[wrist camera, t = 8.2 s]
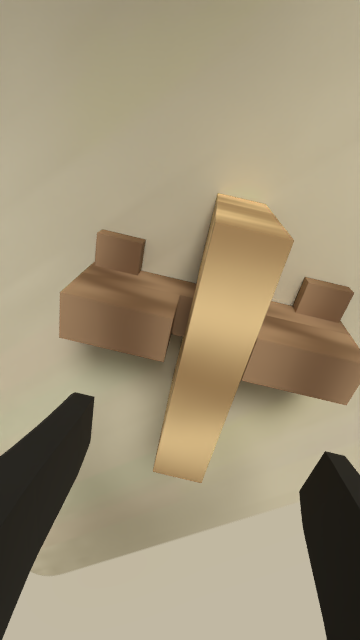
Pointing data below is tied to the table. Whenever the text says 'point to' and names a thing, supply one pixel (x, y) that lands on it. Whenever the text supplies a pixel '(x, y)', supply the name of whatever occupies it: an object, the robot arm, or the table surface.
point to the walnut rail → (173, 312)
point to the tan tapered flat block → (220, 331)
